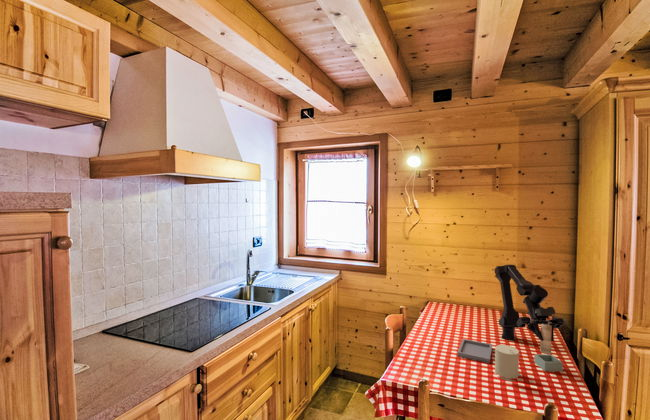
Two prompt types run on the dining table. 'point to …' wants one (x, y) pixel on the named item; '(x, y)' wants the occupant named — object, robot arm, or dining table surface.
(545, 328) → the dowel
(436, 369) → the dining table surface
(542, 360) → the grey square bin
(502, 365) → the can
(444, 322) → the dining table surface
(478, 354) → the tray
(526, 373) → the dining table surface
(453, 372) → the dining table surface
